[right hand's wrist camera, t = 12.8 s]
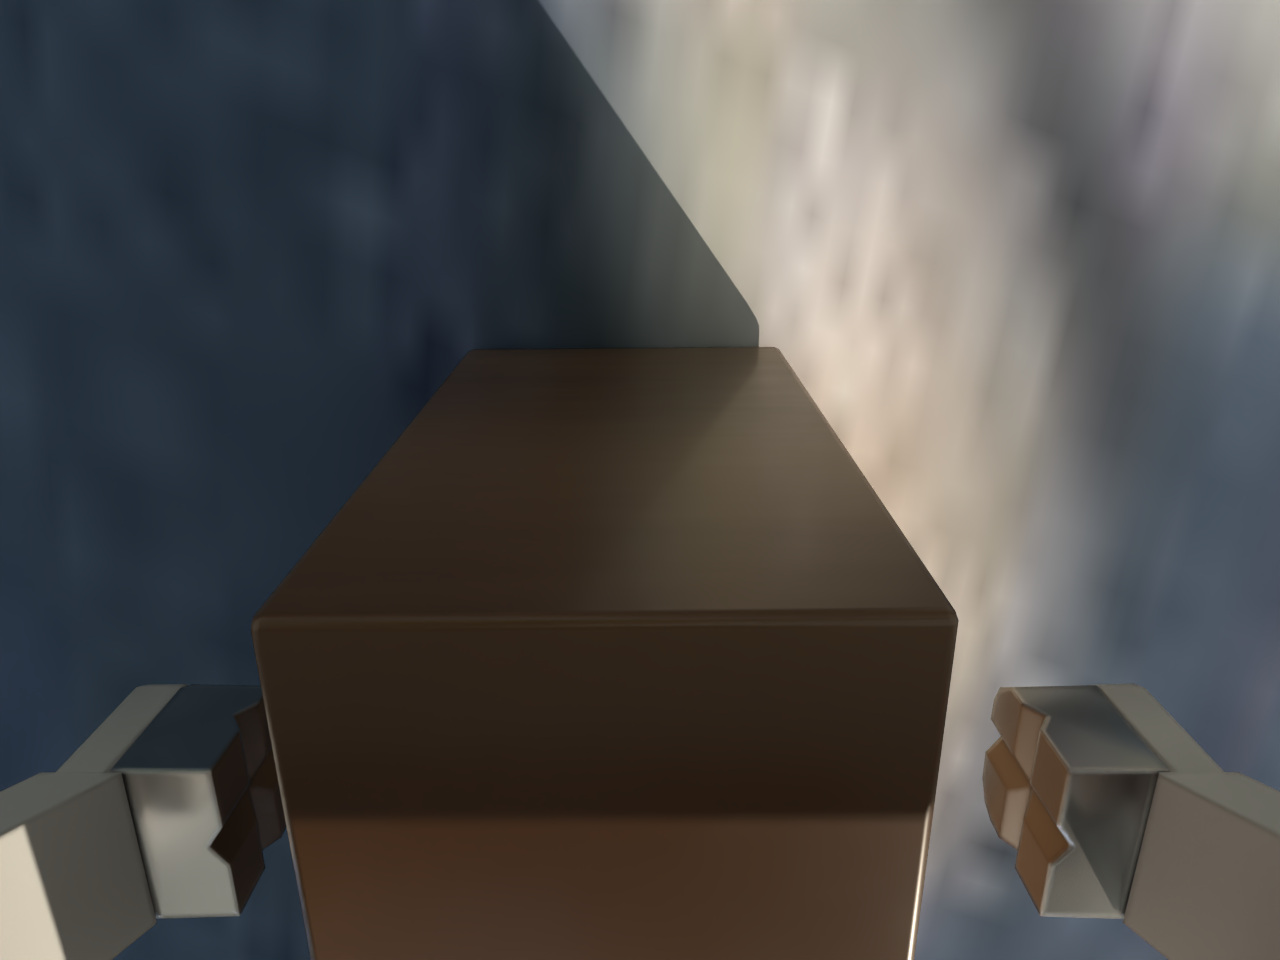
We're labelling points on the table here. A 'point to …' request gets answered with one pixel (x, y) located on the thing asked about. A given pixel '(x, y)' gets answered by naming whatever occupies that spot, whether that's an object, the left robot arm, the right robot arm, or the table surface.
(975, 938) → the table surface
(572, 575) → the bar
